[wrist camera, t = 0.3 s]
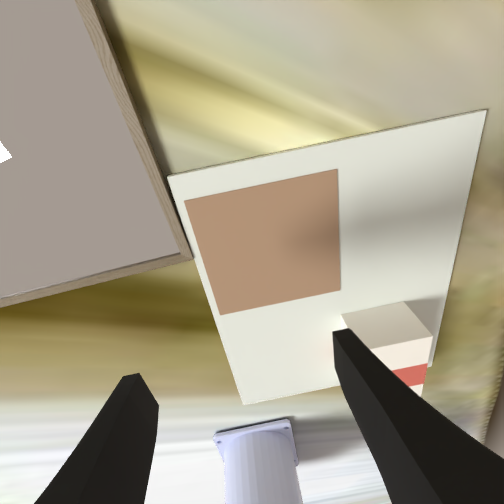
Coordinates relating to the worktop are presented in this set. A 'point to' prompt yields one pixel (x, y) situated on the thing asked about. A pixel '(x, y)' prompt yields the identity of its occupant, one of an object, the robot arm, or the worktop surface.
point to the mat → (326, 243)
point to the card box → (394, 340)
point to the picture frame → (74, 159)
